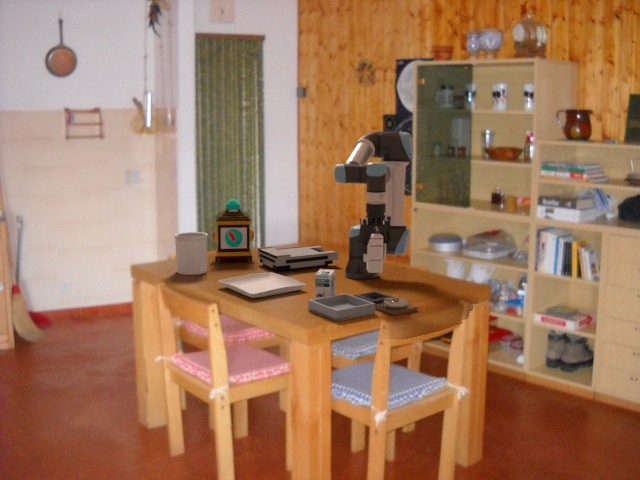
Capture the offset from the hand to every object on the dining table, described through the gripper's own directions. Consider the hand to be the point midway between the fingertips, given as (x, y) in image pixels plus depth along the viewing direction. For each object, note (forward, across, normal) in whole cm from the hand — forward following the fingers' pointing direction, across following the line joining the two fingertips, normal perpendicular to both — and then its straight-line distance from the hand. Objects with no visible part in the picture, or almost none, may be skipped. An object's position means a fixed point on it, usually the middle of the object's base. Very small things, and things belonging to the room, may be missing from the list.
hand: (374, 260), depth 302 cm
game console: (+18, +12, +71) cm, 74 cm away
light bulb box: (+17, -12, +16) cm, 26 cm away
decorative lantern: (+17, -7, +100) cm, 102 cm away
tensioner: (+17, 0, -7) cm, 18 cm away
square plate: (+17, -26, +42) cm, 52 cm away
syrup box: (+4, 0, 0) cm, 4 cm away
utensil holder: (+17, -36, +87) cm, 96 cm away
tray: (+17, -19, -4) cm, 26 cm away
